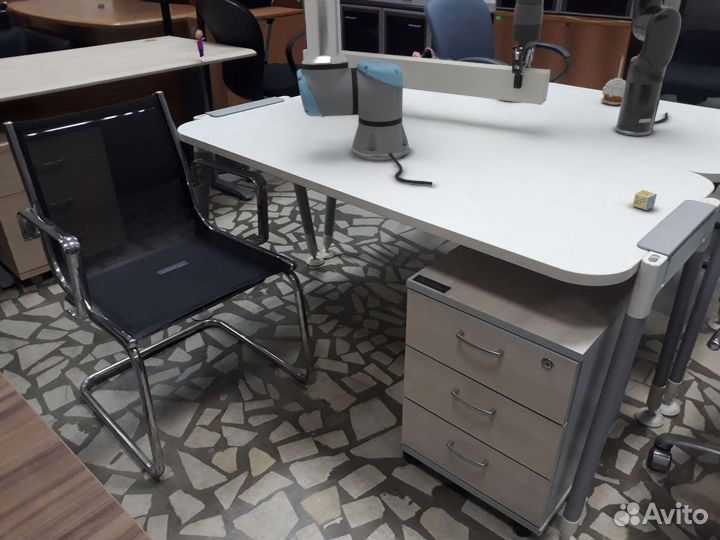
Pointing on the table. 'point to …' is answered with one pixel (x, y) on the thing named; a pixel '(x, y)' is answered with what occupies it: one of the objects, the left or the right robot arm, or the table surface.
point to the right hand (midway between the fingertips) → (520, 85)
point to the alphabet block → (644, 200)
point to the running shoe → (429, 55)
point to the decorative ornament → (614, 89)
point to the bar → (463, 77)
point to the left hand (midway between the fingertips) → (326, 74)
